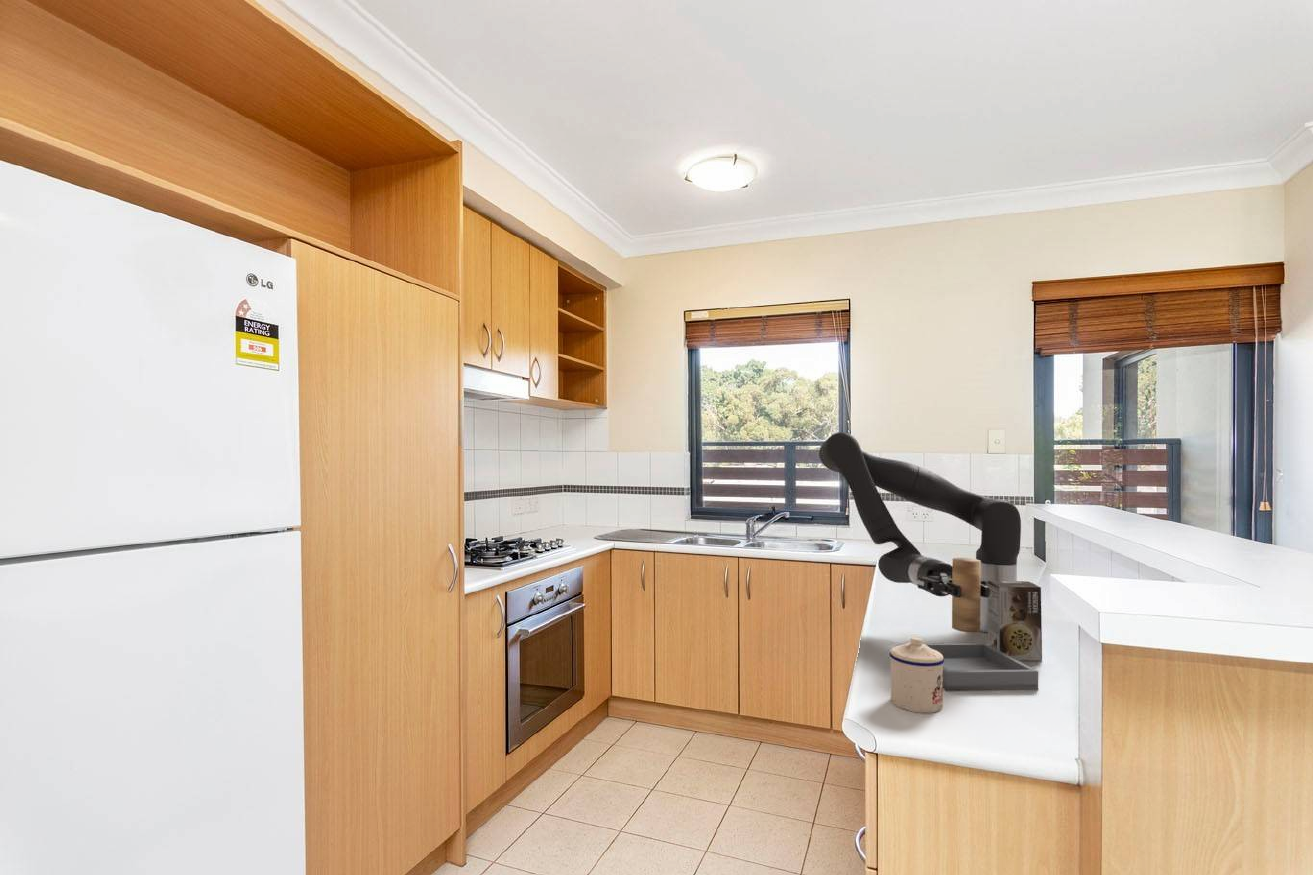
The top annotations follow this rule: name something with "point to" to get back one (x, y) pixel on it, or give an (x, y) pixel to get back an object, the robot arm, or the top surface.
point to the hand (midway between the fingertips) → (973, 592)
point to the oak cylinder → (966, 595)
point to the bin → (983, 669)
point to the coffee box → (1015, 619)
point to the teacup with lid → (917, 677)
